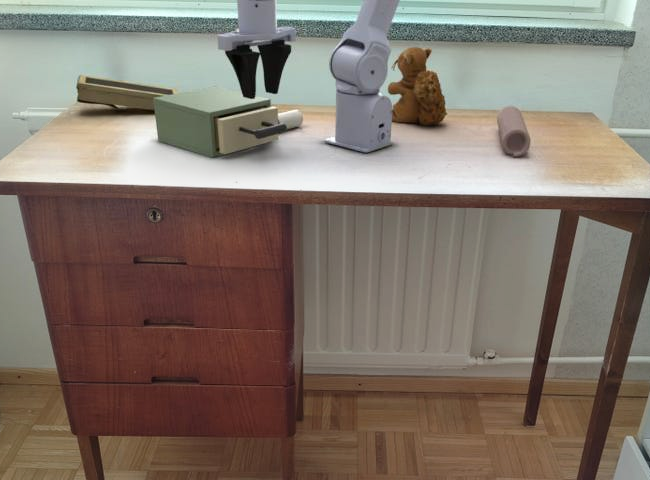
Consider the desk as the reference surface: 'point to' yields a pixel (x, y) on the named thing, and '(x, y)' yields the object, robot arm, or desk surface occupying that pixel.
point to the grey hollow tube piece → (513, 131)
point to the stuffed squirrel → (417, 90)
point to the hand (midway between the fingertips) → (260, 95)
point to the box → (119, 92)
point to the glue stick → (291, 118)
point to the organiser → (198, 116)
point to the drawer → (247, 128)
